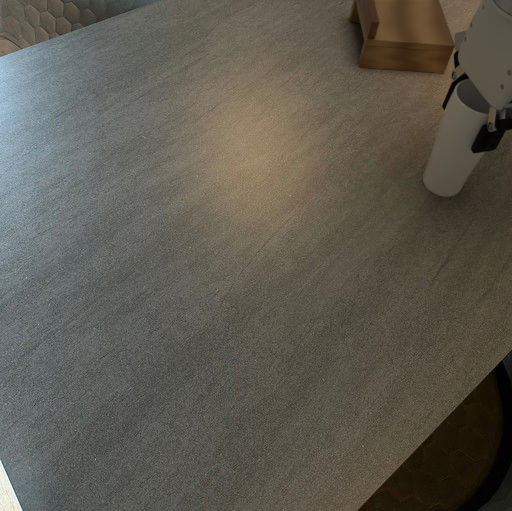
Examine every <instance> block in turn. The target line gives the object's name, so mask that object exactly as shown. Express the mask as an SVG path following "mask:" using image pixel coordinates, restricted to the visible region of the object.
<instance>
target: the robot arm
mask: <svg viewBox="0 0 512 511" xmlns="http://www.w3.org/2000/svg"><path fill="white" fill-rule="evenodd" d="M453 39H454V44H455V48H454V51H455V52H453V66H454V69H453V70H452V71H451V74H450V78H451V80H452V81H451V83H450V86H449V88H448V90H447V93H446V95H445V98H444V100H443V102H442V105H441V108H442V109H443V110H444V111H445V108H446V106H447V103H448V101H449V99H450V97H451V95H452V93H453V91H454V89H455V87H456V85H457V84H458V83H459V82H461V81H462V80H465V79H469V78H470V79H471V81H472V82H473V83H474V85H475V86H476V88H477V89H478V90H479V92H480V93H481V94H482V95H483V97H484V98H485V99H486V101H487V102H488V103H489V104H490V108H489V116H488V124H485V125H483V126H482V127H481V129H480V131H479V133H478V135H477V137H476V139H475V141H474V143H473V145H472V147H471V151H472V152H473V153H481V152H485V153H486V152H493V151H495V150H496V149H497V148H498V146H499V144H500V143H501V141H502V139H503V138H504V136H505V134H506V132H507V131H512V0H481V2H480V3H479V5H478V7H477V9H476V11H475V13H474V15H473V17H472V19H471V21H470V23H469V25H468V27H467V29H466V30H463V31H458V32H455V34H454V38H453ZM505 108H506V114H505V119H499V115H500V110H502V109H505Z"/></svg>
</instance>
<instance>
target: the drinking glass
mask: <svg viewBox="0 0 512 511" xmlns="http://www.w3.org/2000/svg"><path fill="white" fill-rule="evenodd" d="M489 108H490V104H489V103H488V102H487V101H486V99H485V98H484V97H483V95H482V94H481V93H480V92H479V90H478V89H477V88H476V86H475V85H474V83H473V82H472V81H471V79H470V78H469V79H465V80H462V81H461V82H459V83H458V84H457V85H456V87H455V89H454V91H453V93H452V95H451V97H450V99H449V101H448V103H447V106H446V108H445V110H444V111H443V114H442V117H441V119H440V123H439V126H438V129H437V131H436V135H435V139H434V142H433V146H432V149H431V152H430V155H429V159H428V161H427V164H426V166H425V169H424V171H423V173H422V182H423V185H424V186H425V188H426V189H427V190H428V191H429V192H431V193H432V194H434V195H436V196H439V197H444V198H451V197H454V196H456V195H458V194H459V193H460V192H461V190H462V189H463V187H464V186H465V183H466V182H467V180H468V178H470V175H471V174H472V173H473V171H474V169H475V168H476V166H477V165H478V163H479V162H480V161H481V159H482V157H483V156H484V155H485V153H486V152H481V153H473V152H472V151H471V147H472V145H473V143H474V141H475V139H476V137H477V135H478V133H479V131H480V129H481V127H482V126H483V125H485V124H488V116H489ZM505 114H506V108H505V109H502V110H500V115H499V119H505Z"/></svg>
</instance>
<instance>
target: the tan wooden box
mask: <svg viewBox="0 0 512 511" xmlns="http://www.w3.org/2000/svg"><path fill="white" fill-rule="evenodd" d="M350 9H351V10H350V12H349V16H348V19H349V22H350V23H360V27H361V33H362V36H363V37H362V38H363V44H362V46H361V47H362V48H361V51H360V55H359V59H358V62H357V63H358V68H363V69H364V68H365V69H376V70H379V69H380V70H389V71H390V70H392V71H406V72H419V73H434V74H445V71H446V69H447V66H448V65H449V62H450V60H451V57H452V54H453V53H454V51H455V40H454V38H453V36H452V32H451V30H450V27H449V24H448V21H447V18H446V16H445V13H444V10H443V7H442V4H441V2H440V0H352V5H351V8H350Z"/></svg>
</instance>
